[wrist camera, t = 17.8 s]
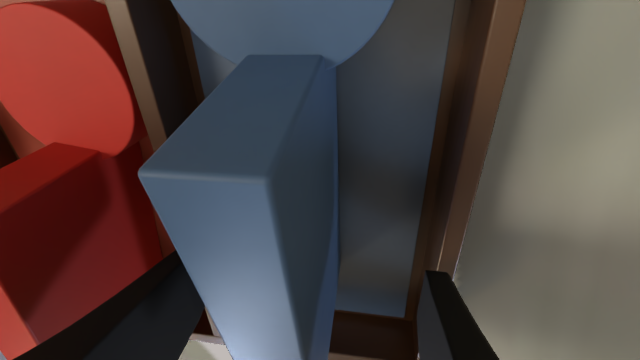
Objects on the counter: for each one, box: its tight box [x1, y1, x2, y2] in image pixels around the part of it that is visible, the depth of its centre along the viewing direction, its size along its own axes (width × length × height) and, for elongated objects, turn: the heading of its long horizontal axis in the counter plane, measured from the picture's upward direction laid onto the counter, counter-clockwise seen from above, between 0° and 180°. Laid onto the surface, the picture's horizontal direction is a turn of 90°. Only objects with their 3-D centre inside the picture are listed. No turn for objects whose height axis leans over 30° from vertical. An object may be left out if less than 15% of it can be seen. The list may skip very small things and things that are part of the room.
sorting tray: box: [0, 0, 526, 360], centre depth 11 cm, size 17×18×2 cm
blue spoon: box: [138, 0, 394, 360], centre depth 7 cm, size 13×4×6 cm, turn 2°
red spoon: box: [0, 0, 163, 360], centre depth 11 cm, size 13×4×6 cm, turn 174°
